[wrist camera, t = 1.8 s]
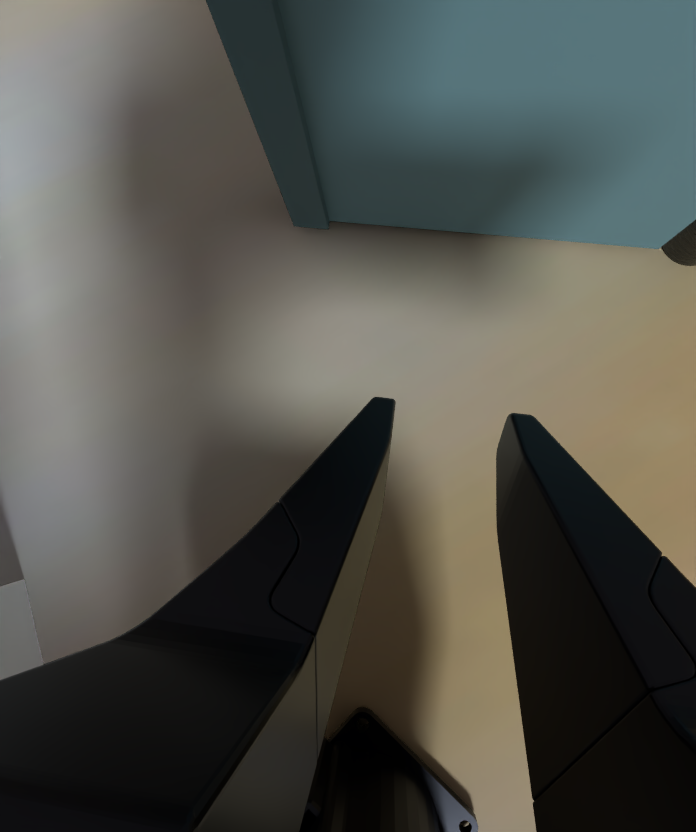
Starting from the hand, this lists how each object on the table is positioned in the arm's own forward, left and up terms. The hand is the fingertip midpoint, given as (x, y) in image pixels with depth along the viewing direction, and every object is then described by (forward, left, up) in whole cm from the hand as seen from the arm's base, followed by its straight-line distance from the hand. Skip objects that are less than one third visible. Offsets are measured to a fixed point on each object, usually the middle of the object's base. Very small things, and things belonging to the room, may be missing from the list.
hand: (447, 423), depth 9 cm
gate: (+5, -9, -12) cm, 16 cm away
